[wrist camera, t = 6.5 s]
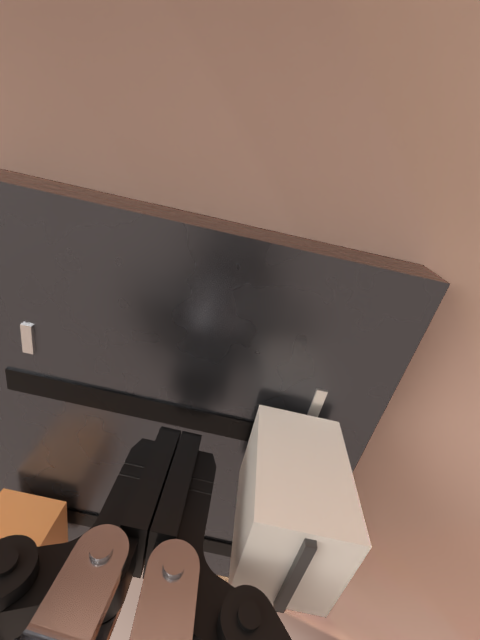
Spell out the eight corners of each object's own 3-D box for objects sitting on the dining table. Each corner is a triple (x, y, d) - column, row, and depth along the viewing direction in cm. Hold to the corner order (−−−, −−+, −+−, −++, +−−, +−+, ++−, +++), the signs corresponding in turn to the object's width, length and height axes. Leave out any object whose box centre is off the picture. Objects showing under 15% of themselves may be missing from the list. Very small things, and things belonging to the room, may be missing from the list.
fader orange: (3, 488, 16) (-94, 607, 11) (66, 501, 16) (-8, 625, 11) (10, 534, 17) (-73, 653, 13) (68, 546, 17) (4, 668, 13)
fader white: (259, 404, 12) (253, 529, 8) (339, 422, 12) (374, 555, 8) (239, 471, 14) (225, 604, 10) (310, 486, 14) (326, 626, 10)
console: (-16, 165, 12) (-71, 166, 10) (423, 265, 12) (452, 284, 10) (24, 494, 20) (-2, 531, 18) (289, 551, 20) (291, 592, 18)
